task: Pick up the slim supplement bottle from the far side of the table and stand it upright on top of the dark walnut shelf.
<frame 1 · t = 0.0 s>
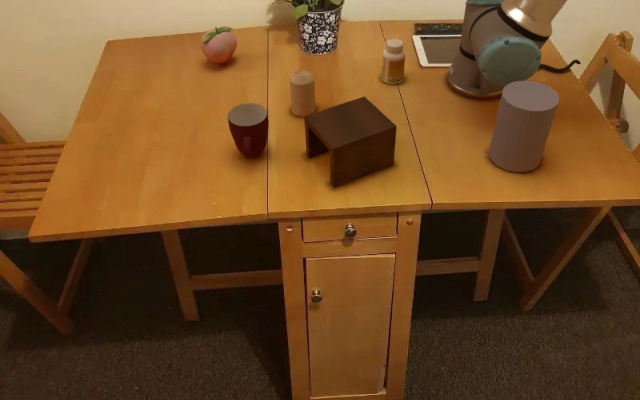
mug: (253, 157, 122), on the table
decorative fruit: (220, 63, 151), on the table
candle: (303, 110, 134), on the table
supplement bottle: (392, 79, 143), on the table
shelf: (349, 160, 120), on the table
container: (514, 157, 120), on the table
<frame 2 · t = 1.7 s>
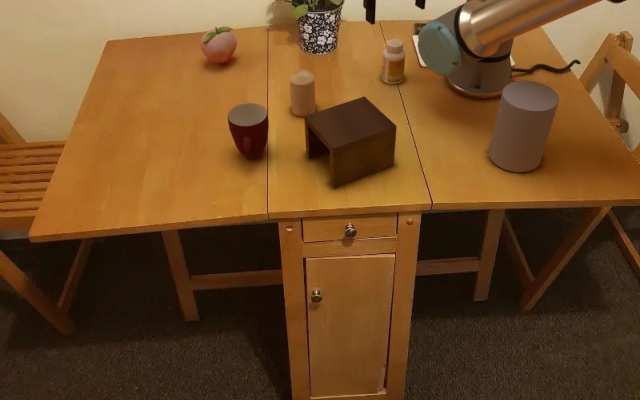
hand: (395, 14, 131), 17 cm above the table, tool pointing down, fingers open, 13 cm apart
nothing on the table moved.
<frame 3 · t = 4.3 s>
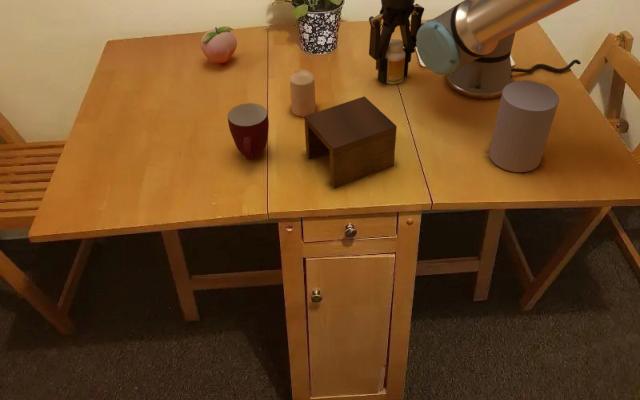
hand: (392, 77, 143), 0 cm above the table, tool pointing down, fingers closed on supplement bottle, 5 cm apart
supplement bottle: (392, 79, 143), on the table, touching gripper
everything else where it was.
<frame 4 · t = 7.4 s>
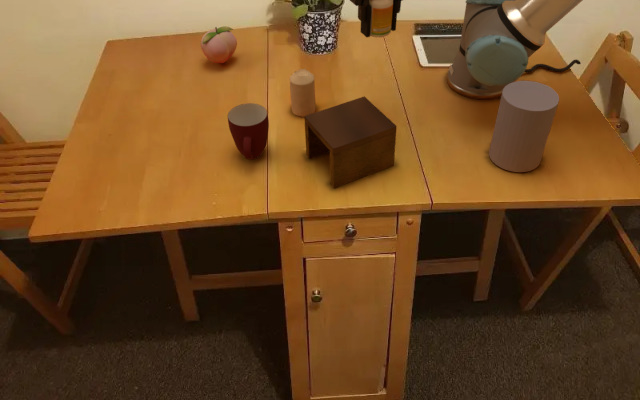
hand: (378, 30, 121), 19 cm above the table, tool pointing down, fingers closed on supplement bottle, 5 cm apart
supplement bottle: (377, 32, 121), point 19 cm above the table, touching gripper
everything else where it was.
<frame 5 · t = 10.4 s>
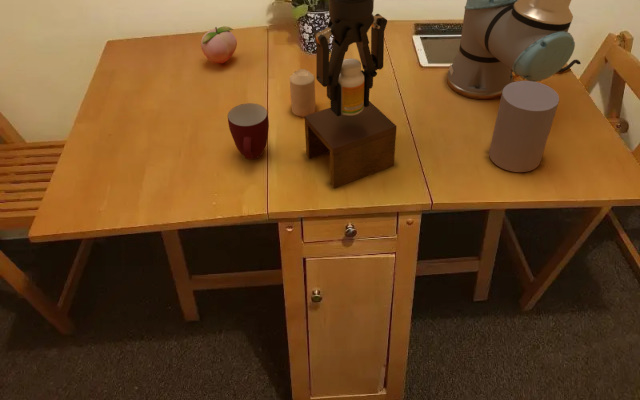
hand: (349, 107, 111), 13 cm above the table, tool pointing down, fingers closed on supplement bottle, 5 cm apart
supplement bottle: (349, 109, 112), point 13 cm above the table, touching gripper
everything else where it was.
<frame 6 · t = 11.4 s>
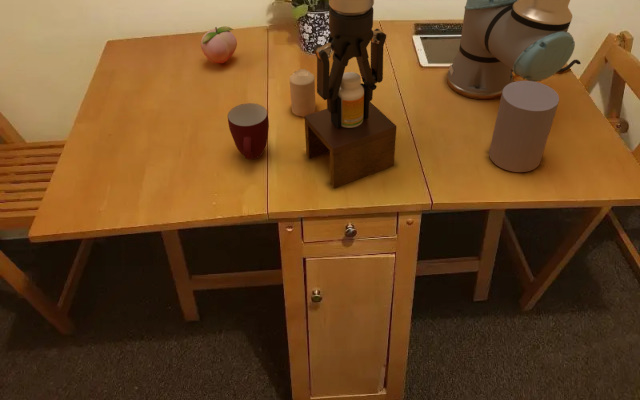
hand: (349, 119, 113), 10 cm above the table, tool pointing down, fingers closed on supplement bottle, 5 cm apart
supplement bottle: (349, 121, 114), point 10 cm above the table, touching gripper
everything else where it was.
when the fingers open (11 cm above the table, at t = 16.8 s): supplement bottle drops 1 cm, resting on shelf.
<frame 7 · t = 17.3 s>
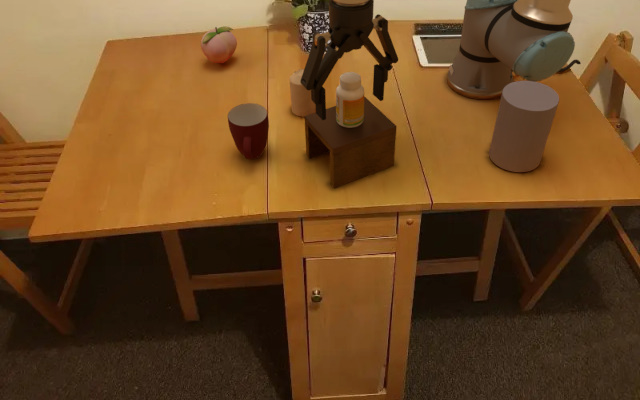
hand: (350, 106, 111), 13 cm above the table, tool pointing down, fingers open, 12 cm apart
supplement bottle: (349, 121, 114), point 10 cm above the table, touching shelf
everything else where it was.
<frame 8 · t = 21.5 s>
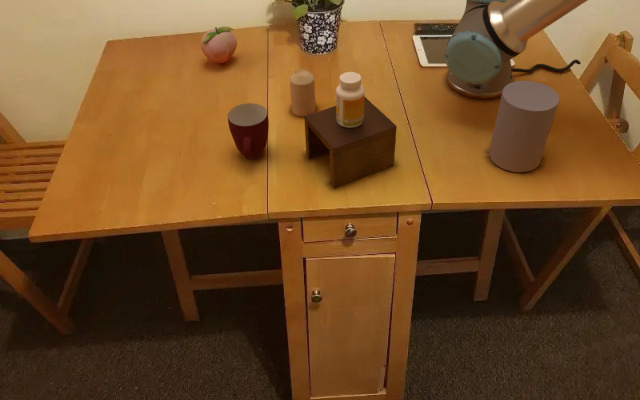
nothing on the table moved.
at the end: supplement bottle inside the target area on the shelf (0.1 cm from its centre), point 9.8 cm above the shelf's base; supplement bottle tilted 0°; the gripper is holding nothing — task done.
